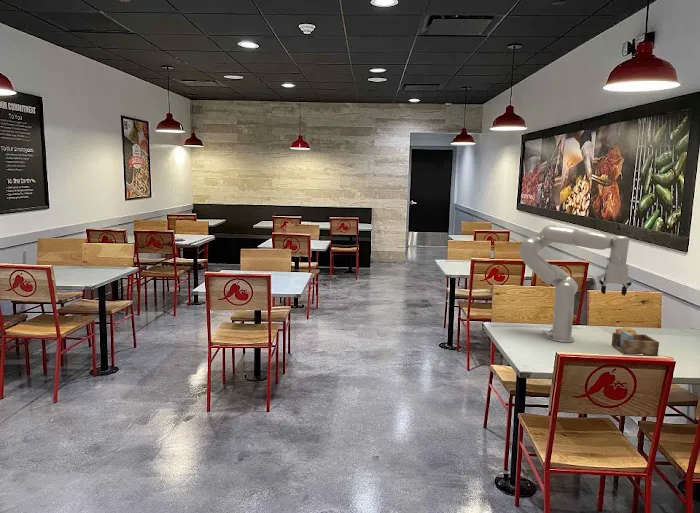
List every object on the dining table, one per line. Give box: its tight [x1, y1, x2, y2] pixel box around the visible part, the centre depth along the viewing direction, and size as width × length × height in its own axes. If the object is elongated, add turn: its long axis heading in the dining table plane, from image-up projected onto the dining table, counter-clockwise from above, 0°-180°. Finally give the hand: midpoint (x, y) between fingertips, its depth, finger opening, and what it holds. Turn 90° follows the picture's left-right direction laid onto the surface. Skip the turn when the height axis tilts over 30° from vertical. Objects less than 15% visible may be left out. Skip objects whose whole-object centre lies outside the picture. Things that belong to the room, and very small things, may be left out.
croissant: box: [615, 326, 638, 334], centre depth 279 cm, size 21×10×8 cm, turn 2°
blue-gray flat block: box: [619, 331, 634, 347], centre depth 258 cm, size 3×9×8 cm, turn 174°
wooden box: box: [611, 332, 660, 357], centre depth 258 cm, size 16×14×7 cm
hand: (613, 294), depth 260 cm, fingers open, 9 cm apart
